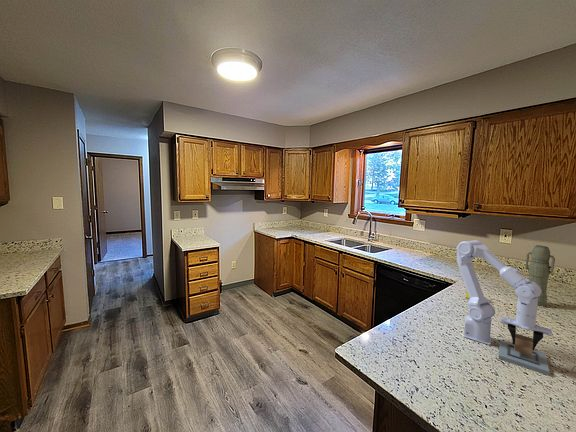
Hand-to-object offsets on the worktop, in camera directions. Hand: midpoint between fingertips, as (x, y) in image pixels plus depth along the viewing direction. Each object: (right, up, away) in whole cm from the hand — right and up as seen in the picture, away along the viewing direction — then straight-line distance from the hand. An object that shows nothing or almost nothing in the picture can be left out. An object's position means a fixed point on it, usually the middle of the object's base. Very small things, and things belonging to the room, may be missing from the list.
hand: (523, 346), depth 101 cm
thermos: (+55, -1, +52) cm, 76 cm away
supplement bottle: (+20, 0, +57) cm, 60 cm away
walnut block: (0, -2, 0) cm, 2 cm away
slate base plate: (0, -5, 0) cm, 5 cm away
